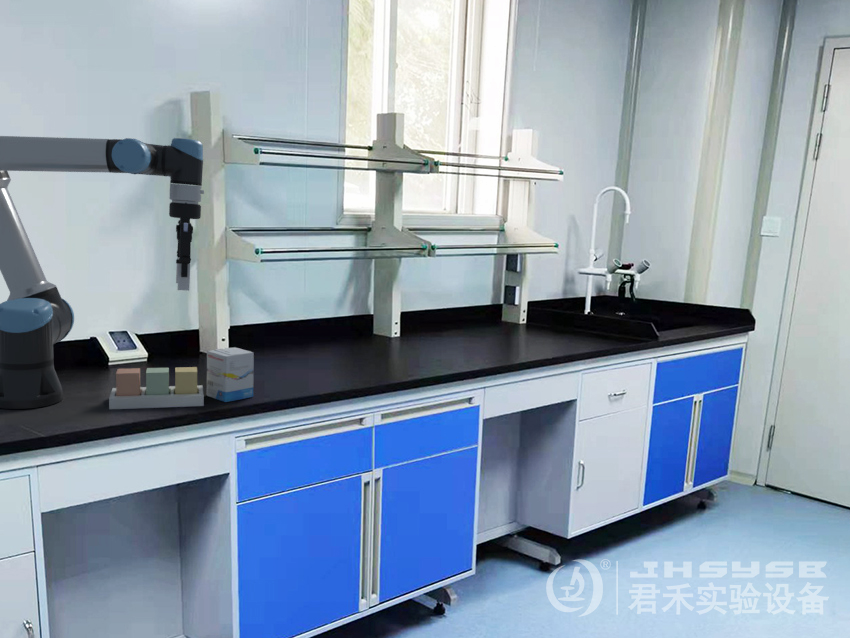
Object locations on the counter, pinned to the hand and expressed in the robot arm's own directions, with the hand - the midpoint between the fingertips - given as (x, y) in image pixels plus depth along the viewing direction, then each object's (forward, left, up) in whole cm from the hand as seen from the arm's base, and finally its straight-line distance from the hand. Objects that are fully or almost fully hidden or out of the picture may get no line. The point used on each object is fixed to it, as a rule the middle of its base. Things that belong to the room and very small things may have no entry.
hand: (182, 286), depth 190 cm
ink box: (+11, -10, -27) cm, 31 cm away
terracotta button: (-12, -13, -24) cm, 30 cm away
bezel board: (-6, -13, -26) cm, 30 cm away
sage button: (-6, -13, -25) cm, 28 cm away
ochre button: (+1, -13, -25) cm, 28 cm away
